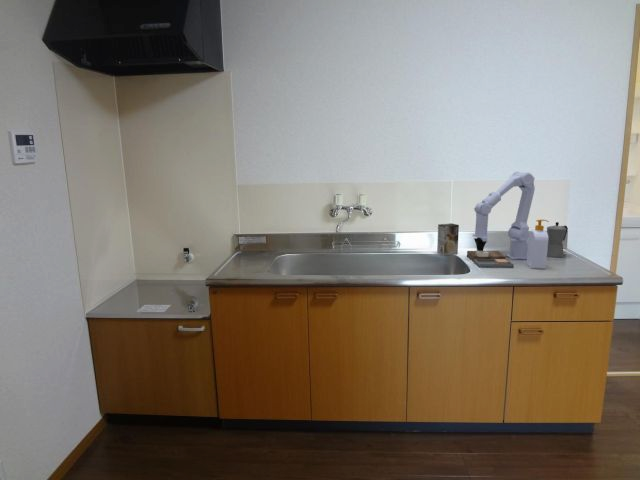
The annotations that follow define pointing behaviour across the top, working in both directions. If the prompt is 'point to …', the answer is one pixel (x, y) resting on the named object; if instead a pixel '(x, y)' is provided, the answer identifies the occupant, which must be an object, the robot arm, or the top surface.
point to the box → (491, 264)
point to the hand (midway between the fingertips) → (479, 252)
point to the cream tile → (482, 253)
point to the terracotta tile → (500, 261)
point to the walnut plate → (492, 255)
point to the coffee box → (447, 239)
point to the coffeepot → (556, 240)
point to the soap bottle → (537, 247)
